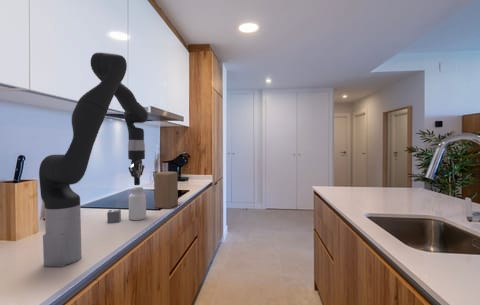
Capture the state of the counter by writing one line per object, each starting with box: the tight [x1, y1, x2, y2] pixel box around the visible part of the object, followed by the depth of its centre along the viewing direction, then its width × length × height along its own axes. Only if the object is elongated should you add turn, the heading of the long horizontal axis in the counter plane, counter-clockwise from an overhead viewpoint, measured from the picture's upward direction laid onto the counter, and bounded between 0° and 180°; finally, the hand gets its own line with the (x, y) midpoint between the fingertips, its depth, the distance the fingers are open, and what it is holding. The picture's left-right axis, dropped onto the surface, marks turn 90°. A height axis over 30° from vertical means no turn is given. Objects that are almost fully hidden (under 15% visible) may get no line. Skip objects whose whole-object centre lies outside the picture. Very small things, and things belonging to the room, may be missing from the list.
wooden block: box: [153, 171, 179, 210], centre depth 151 cm, size 10×10×20 cm
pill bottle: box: [128, 186, 147, 221], centre depth 128 cm, size 8×8×15 cm
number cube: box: [106, 208, 122, 224], centre depth 123 cm, size 5×5×5 cm
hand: (137, 185), depth 127 cm, fingers closed
